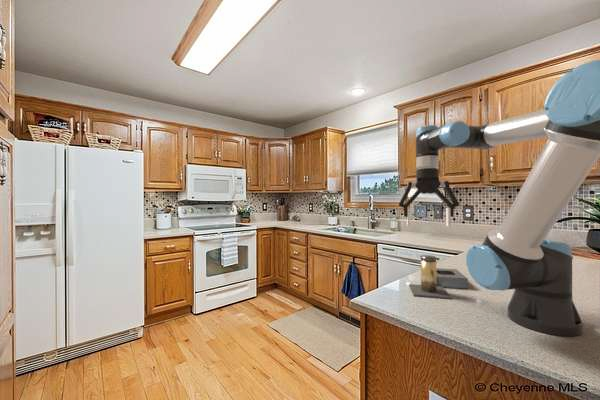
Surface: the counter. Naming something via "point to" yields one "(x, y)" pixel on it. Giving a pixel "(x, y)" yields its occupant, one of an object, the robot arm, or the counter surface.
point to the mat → (439, 294)
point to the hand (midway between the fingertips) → (428, 225)
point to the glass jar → (428, 274)
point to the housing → (451, 278)
